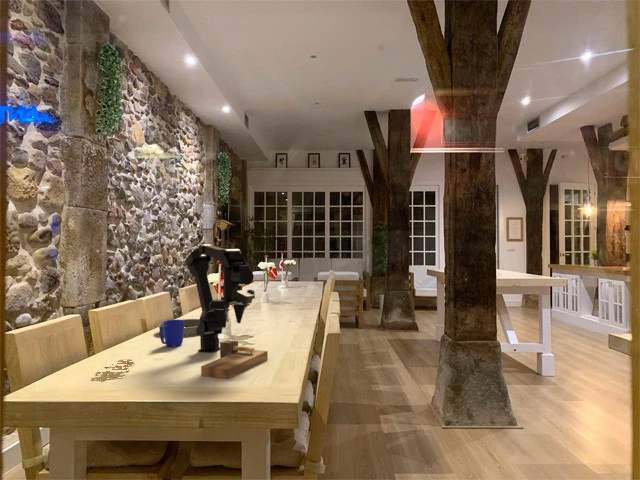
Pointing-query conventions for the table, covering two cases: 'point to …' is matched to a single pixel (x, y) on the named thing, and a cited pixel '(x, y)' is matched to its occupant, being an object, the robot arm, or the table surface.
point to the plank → (233, 364)
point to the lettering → (111, 374)
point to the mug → (172, 332)
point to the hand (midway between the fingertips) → (231, 325)
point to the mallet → (232, 348)
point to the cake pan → (188, 326)
